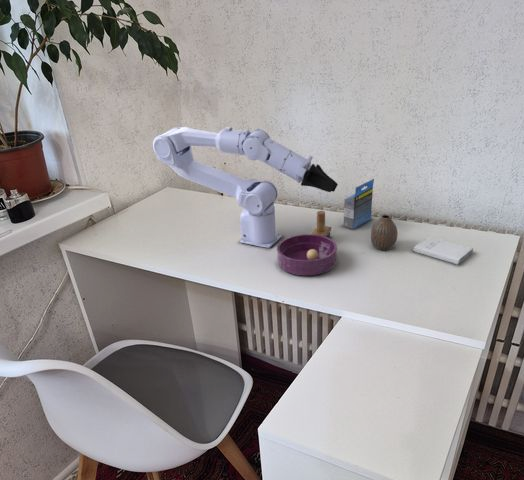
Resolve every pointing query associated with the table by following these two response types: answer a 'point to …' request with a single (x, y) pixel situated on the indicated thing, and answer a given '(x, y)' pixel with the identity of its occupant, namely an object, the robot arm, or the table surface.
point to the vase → (384, 233)
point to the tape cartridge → (358, 206)
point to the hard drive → (443, 250)
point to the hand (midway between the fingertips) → (334, 188)
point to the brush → (321, 225)
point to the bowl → (295, 254)
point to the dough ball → (312, 254)
